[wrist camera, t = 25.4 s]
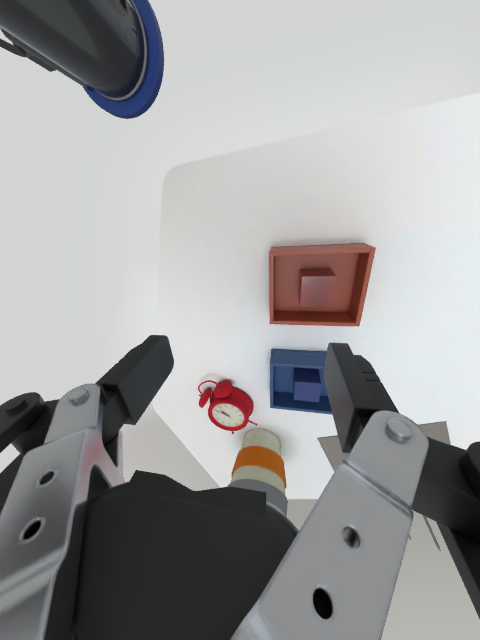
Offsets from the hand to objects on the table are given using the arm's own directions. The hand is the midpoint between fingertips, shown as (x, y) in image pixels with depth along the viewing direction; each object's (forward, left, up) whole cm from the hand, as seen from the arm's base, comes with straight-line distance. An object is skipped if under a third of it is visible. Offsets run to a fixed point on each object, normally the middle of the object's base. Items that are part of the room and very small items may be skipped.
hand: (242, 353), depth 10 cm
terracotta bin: (+7, -4, -26) cm, 27 cm away
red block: (+7, -4, -26) cm, 27 cm away
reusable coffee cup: (-2, -46, -26) cm, 53 cm away
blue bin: (+7, -23, -26) cm, 35 cm away
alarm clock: (-10, -32, -26) cm, 43 cm away
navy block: (+7, -23, -26) cm, 35 cm away
